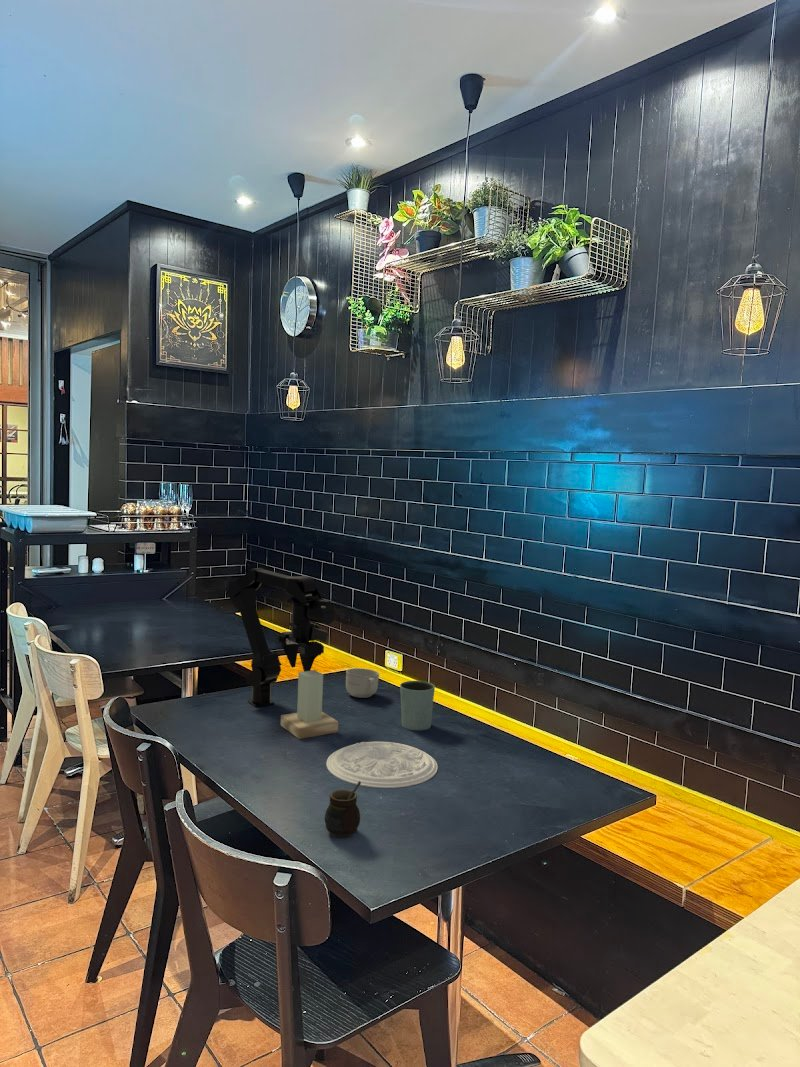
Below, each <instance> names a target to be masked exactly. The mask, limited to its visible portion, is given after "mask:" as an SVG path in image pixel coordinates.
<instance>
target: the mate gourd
mask: <svg viewBox="0 0 800 1067" xmlns="http://www.w3.org/2000/svg"><path fill="white" fill-rule="evenodd" d="M360 783H361V782H360V781H359V782H358V784H357V785H356V784H355V787H354V788H353V790H349V789H336V790H333V791H332V792H330V794H329V805H328V807H327V809H326V810H325V813H324V823H325V828H326V830H327V832H329V834H331V835H332V836H334V837H337V838H346V837H347V838H348V837H350V836H351V835H353V834H354V833H356V832H357V830H358V827H359V826H360V823H361V822H360V821H361V813H360V809H359V807H358V804H357V801H358V795H357V793H356V791H357V789H358V788H359V786H361V785H360Z"/></svg>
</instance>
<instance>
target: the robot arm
mask: <svg viewBox="0 0 800 1067" xmlns="http://www.w3.org/2000/svg"><path fill="white" fill-rule="evenodd" d="M262 585H266V586H270V587H274V588H277V589H280V590H283V591H285V592H286V594H287V595H289V596H290V598H288V599H287V600H286V603H288V604H291V605H292V608H291V609H292V610H291V611H292V612H291V613H292V614H291V621H289V623H288V625H289V626H290V627H291V631H281V633H280V634H279V635H278V642H279V643H280V645H281V647H282V649H283V651H284V653H285V655H286V657H287V660H288V662H289V665H290V667H291V668H292V669H293V668H296V664H297V658H298V654H299V658H300V661H301V662H300V663H301V666H302V670H303V672H304V671H311V670H312V667H313V663H314V662H315V660H316V658H317V657H318V656H321V655H322V654H324V652H325V646H324V645H323V644H322V643H325V644H326V643H327V641H328V638H329V635H330V632H328V631H326V630H323V629H320V628H321V627H320V625H318V624H322V625H331V624H332V623H333V622H334V619H335V616H336V611H335V608H334V606H333V605H332V604H331V603H332V601H331V600H323V599H324V598H323V597H322V594H321V593H320V590H319V588H318V586H317V585H316V582H315V579H314V578H313V576H309V575H308V576H304V575H301V576H300V575H298V576H294V575H293V576H292V575H291V576H290V575H286V574H283V573H280V572H275V571H271V570H267V569H264V568H263V567H258V568H257V567H256V568H251V569H249V570H248V571H247V572H246V573H245V574H244V575H242V576H240V577H238V578H237V579H236V580H234V581H232V582H230V583H229V585H228V587H227V589H226V590H227V594H228V597H229V599H230V602H231V604H232V605H233V606H234V607H235V608H236V609H237V610H238V611H239V613H240V616H241V620H242V623H243V626H244V628H245V629H244V630H245V633H246V636H247V638H248V642H249V645H250V648H251V652H252V658H251V659H252V660H251V663H250V666H251V672H250V673H249V674H248V675H247V676H246V677H245V683H246V685H247V686H251V698H248V699H247V702H248V703H250V704H251V705H252V706H253V707H262V706H263V707H264V706H269V705H270V706H271V705H275V703H276V702H275V701H274V700H272V698H271V696H272V693H271V691H272V690H271V688H272V683H276V682H277V681H278V679H279V675H280V674H281V672H282V668H281V666H282V663H281V661H280V659H279V655H278V652H274V653H273V652H272V651H271V650H270V649H269V646H268V643H267V640H266V637H265V633H264V630H263V628H262V624H261V621H260V620H261V619H260V617H259V614H258V611H257V608H256V603H257V597H258V596H257V590H259V588H260V587H261V586H262ZM316 623H318V624H316ZM319 641H321V642H322V643H320V642H319ZM298 650H299V653H298Z"/></svg>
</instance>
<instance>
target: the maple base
mask: <svg viewBox="0 0 800 1067" xmlns="http://www.w3.org/2000/svg"><path fill="white" fill-rule="evenodd" d="M280 726H281V727H282V728H283V729H285V730H286V731H288V732H289V733H290V734H292V735H293V736H294V737H296V738H297V739H298V740H300V739H306V738H312V737H319V736H324V735H330V734H336V733H339V721H338V720H336V719H335V718H333V717H332V716H330V715H328V714H327V713H325V712H323V711H322V719H321V720H316V721H311V722H304V721H303V720H301V719H299V718H297V712H292V713H287V714H281V715H280Z"/></svg>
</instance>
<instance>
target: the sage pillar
mask: <svg viewBox="0 0 800 1067" xmlns="http://www.w3.org/2000/svg"><path fill="white" fill-rule="evenodd" d="M297 676H298V678H297V706H296V707H297V709H296V713H297V718H299V719H301V720H303V721H304V722H311V721H316V720H321V719H322V712H323V690H324V674H323V673H322V672H319V671H316V670H314V669H311V670H310V671H304V670H303V671H300V672H298V675H297Z"/></svg>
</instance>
